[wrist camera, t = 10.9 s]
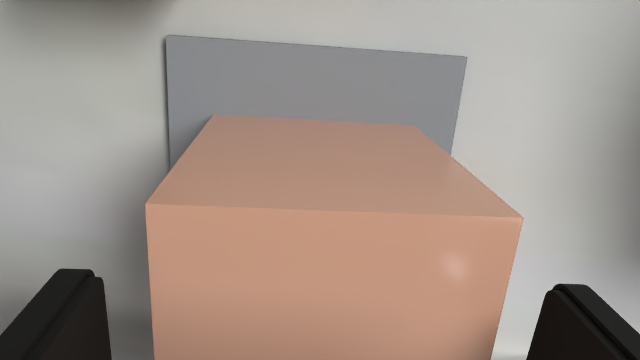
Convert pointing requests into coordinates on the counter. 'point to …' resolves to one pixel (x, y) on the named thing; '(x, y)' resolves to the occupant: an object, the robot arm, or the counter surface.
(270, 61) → the mat
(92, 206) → the counter surface
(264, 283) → the salmon pink block
